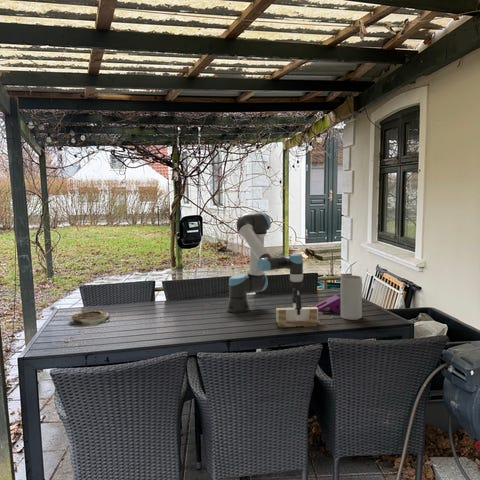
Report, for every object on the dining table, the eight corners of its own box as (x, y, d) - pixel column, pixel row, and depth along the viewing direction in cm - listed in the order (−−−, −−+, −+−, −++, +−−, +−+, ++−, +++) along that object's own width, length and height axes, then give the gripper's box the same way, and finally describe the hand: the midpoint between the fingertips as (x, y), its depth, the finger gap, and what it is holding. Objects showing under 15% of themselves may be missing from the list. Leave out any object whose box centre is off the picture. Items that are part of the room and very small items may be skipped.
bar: (276, 319, 252) (276, 308, 251) (321, 318, 252) (321, 306, 251) (276, 321, 248) (276, 309, 247) (323, 320, 248) (323, 308, 247)
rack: (277, 322, 255) (277, 306, 254) (314, 321, 255) (313, 304, 254) (279, 327, 245) (278, 310, 244) (317, 326, 246) (317, 309, 245)
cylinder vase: (336, 317, 261) (336, 277, 259) (347, 313, 270) (347, 274, 268) (355, 321, 253) (355, 280, 250) (365, 316, 262) (365, 276, 259)
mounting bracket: (320, 322, 273) (345, 309, 273) (314, 310, 272) (339, 298, 272) (317, 318, 282) (341, 305, 282) (311, 307, 281) (335, 294, 281)
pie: (78, 330, 249) (77, 322, 249) (58, 322, 268) (57, 314, 268) (120, 319, 270) (120, 312, 269) (99, 313, 288) (98, 305, 288)
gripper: (306, 284, 235) (306, 322, 238) (299, 276, 260) (300, 311, 262) (292, 285, 235) (293, 323, 238) (287, 276, 260) (287, 311, 262)
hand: (296, 316), depth 250 cm, fingers open, 12 cm apart
